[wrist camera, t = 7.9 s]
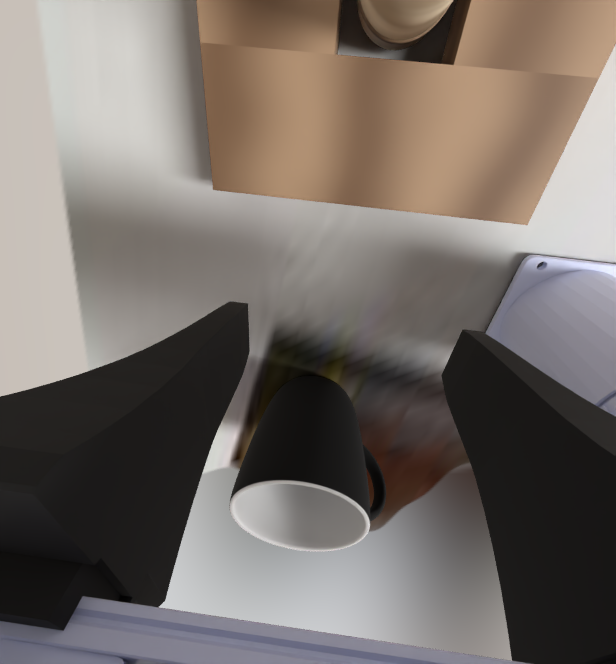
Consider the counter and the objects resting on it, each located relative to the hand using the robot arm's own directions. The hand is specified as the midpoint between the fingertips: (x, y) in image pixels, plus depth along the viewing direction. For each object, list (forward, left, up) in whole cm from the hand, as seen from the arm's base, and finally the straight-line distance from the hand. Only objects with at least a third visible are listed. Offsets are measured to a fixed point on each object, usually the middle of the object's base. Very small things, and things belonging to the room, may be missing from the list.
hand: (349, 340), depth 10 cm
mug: (0, +15, -11) cm, 19 cm away
